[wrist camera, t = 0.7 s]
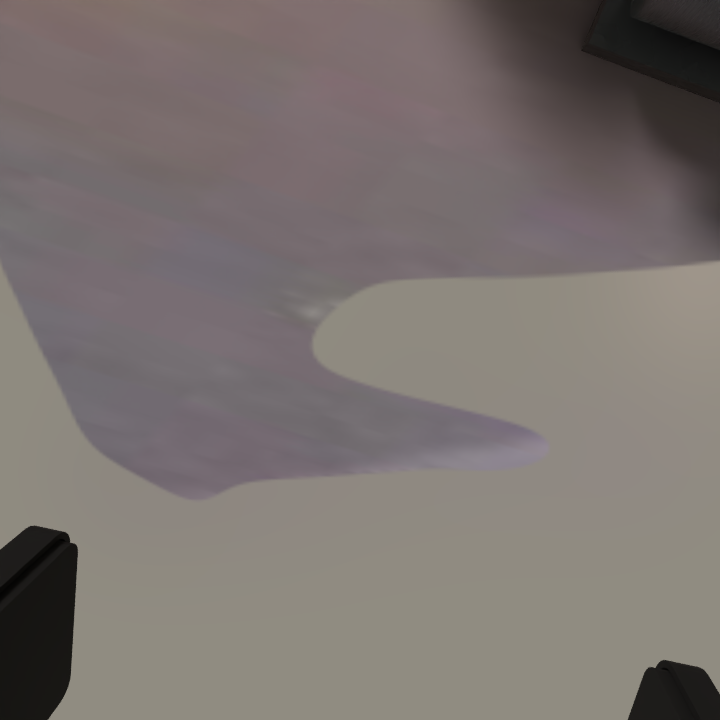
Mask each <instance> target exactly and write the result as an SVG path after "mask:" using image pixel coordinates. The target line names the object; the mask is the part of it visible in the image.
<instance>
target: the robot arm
mask: <svg viewBox="0 0 720 720" xmlns="http://www.w3.org/2000/svg"><path fill="white" fill-rule="evenodd" d="M77 557H78V549H77V546H76V544H73V543H70V538H69V535H68V534H67V533H66V532H62V531H57V530H53V529H48V528H43V527H39V526H30V527H28V528H26V529H25V530H24V531H22V532H21V533H20V534H19V535H18V536H16V537H15V538H14V539H13V540H12V541H10V542H9V543H8V544H7V545H5V546H4V547H3V548H2V549H1V550H0V720H48V719H49V717H50V716H51V714H52V713H53V712H54V710H55V709H56V708H57V706H58V705H59V703H60V702H61V700H62V699H63V697H64V695H65V693H66V690H67V688H68V685H69V681H70V676H71V660H72V644H73V626H74V609H75V608H74V607H75V592H76V573H77ZM628 720H720V694H719V692H718V691H717V689H716V687H715V686H714V684H713V682H712V681H711V679H710V677H709V676H708V674H707V673H706V672H705V671H704V670H703V669H701V668H699V667H695V666H690V665H686V664H681V663H676V662H672V661H667V660H663V661H660V662H659V663H658V665H657V666H656V668H653V667H650V668H648V669H647V670H646V671H645V673H644V676H643V678H642V681H641V684H640V687H639V690H638V693H637V695H636V698H635V701H634V704H633V707H632V709H631V712H630V715H629V718H628Z"/></svg>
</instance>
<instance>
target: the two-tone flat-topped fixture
mask: <svg viewBox="0 0 720 720" xmlns="http://www.w3.org/2000/svg"><path fill="white" fill-rule="evenodd" d="M582 51H584V52H587V53H590V54H592V55H595V56H597V57H600V58H603V59H605V60H608V61H611V62H613V63H616V64H619V65H621V66H624V67H627V68H629V69H632V70H635V71H637V72H640V73H642V74H645V75H648V76H650V77H653V78H656V79H658V80H661V81H664V82H666V83H669V84H672V85H674V86H677V87H680V88H682V89H685V90H687V91H690V92H693V93H695V94H698V95H701V96H703V97H706V98H709V99H711V100H714V101H717V102H719V103H720V0H603V1H602V3H601V5H600V8H599V10H598V12H597V15H596V17H595V19H594V22H593V24H592V27H591V29H590V31H589V34H588V36H587V38H586V41H585V43H584V46H583V48H582Z"/></svg>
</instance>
